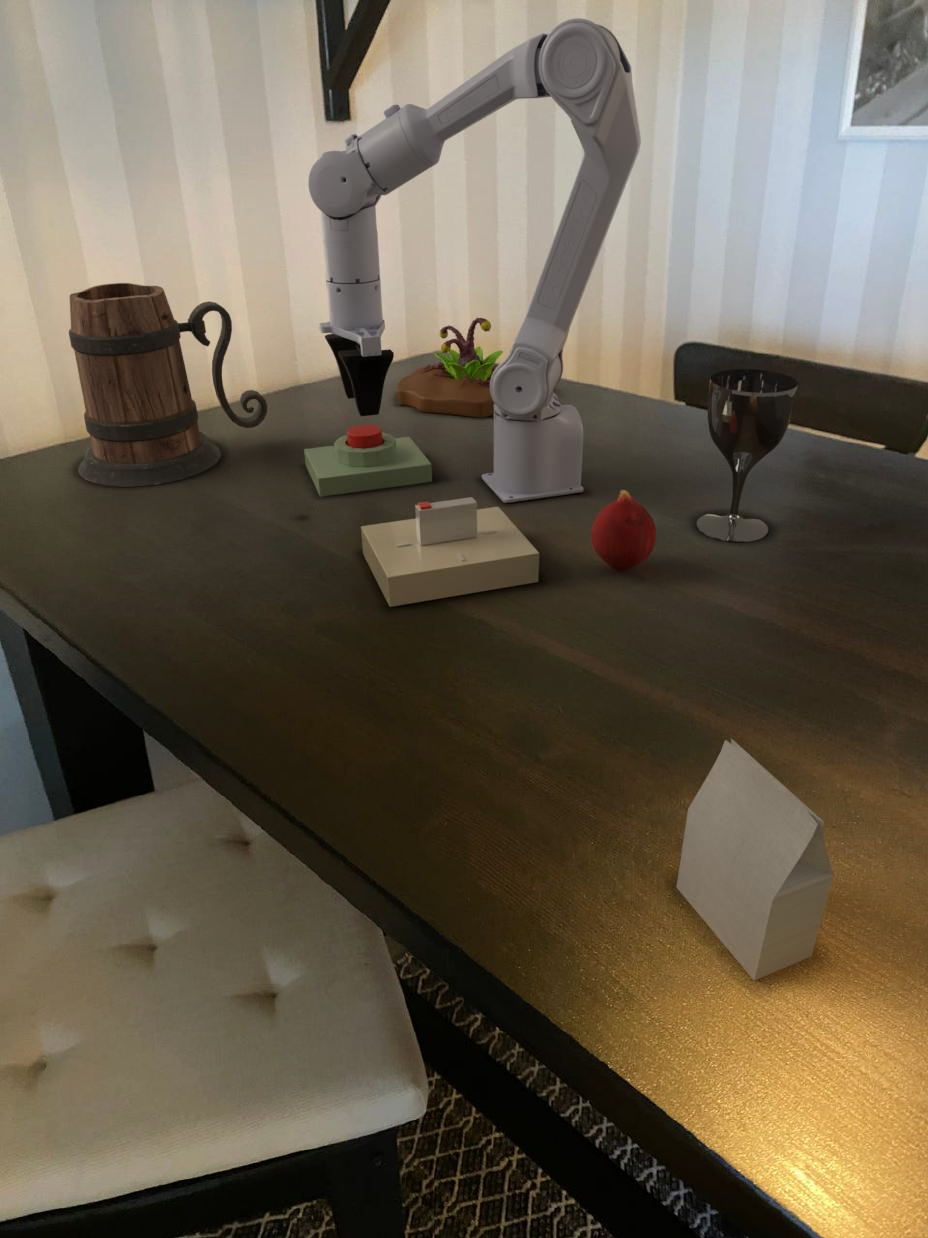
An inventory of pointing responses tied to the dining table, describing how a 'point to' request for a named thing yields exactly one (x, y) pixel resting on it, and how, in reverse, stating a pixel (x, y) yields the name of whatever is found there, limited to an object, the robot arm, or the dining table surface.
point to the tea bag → (755, 864)
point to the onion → (623, 533)
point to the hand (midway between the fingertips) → (362, 405)
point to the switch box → (446, 520)
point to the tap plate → (448, 560)
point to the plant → (453, 379)
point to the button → (364, 436)
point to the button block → (367, 466)
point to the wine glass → (745, 437)
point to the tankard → (144, 386)
